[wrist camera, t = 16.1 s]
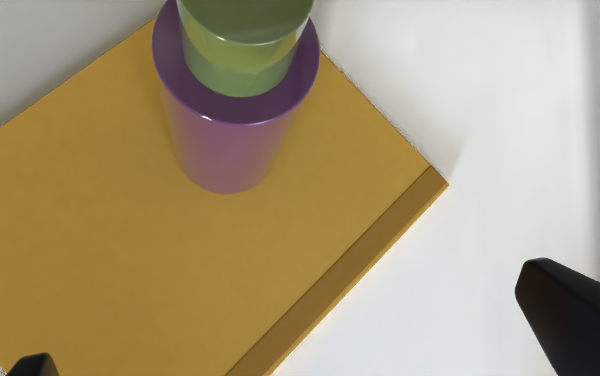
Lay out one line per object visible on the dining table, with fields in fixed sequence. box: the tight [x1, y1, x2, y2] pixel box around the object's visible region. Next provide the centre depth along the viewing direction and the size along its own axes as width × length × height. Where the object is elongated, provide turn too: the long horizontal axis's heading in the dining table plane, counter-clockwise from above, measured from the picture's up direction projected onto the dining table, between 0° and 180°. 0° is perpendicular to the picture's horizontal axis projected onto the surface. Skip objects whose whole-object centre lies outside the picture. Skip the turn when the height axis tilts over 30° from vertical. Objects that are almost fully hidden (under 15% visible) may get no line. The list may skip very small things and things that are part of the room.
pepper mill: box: [152, 0, 320, 194], centre depth 17 cm, size 5×5×12 cm
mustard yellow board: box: [0, 17, 449, 376], centre depth 22 cm, size 20×16×1 cm
